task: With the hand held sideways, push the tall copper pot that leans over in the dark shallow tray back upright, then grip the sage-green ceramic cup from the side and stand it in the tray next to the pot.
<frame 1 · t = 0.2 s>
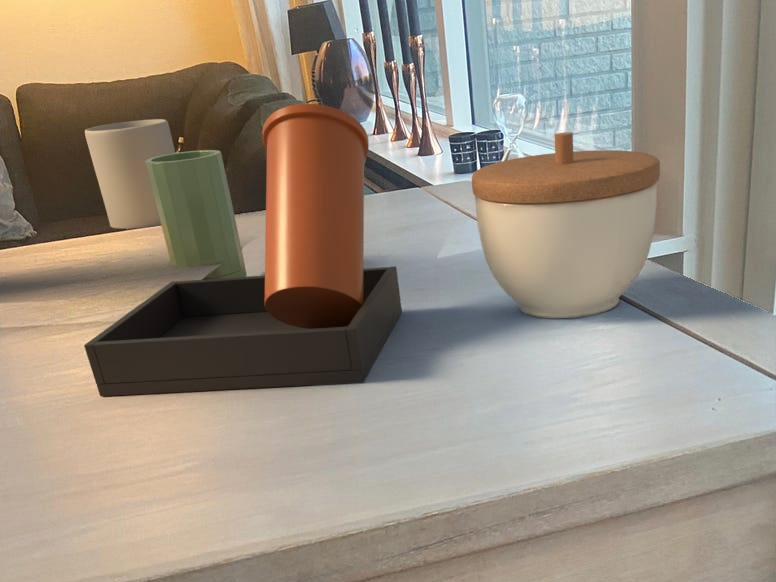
pot: (315, 222, 63), point 8 cm above the table, hinge at 40.0°
mug: (157, 236, 106), on the table
lidded bowl: (569, 307, 69), on the table
dark shallow tray: (262, 351, 66), on the table
cup: (211, 280, 85), on the table
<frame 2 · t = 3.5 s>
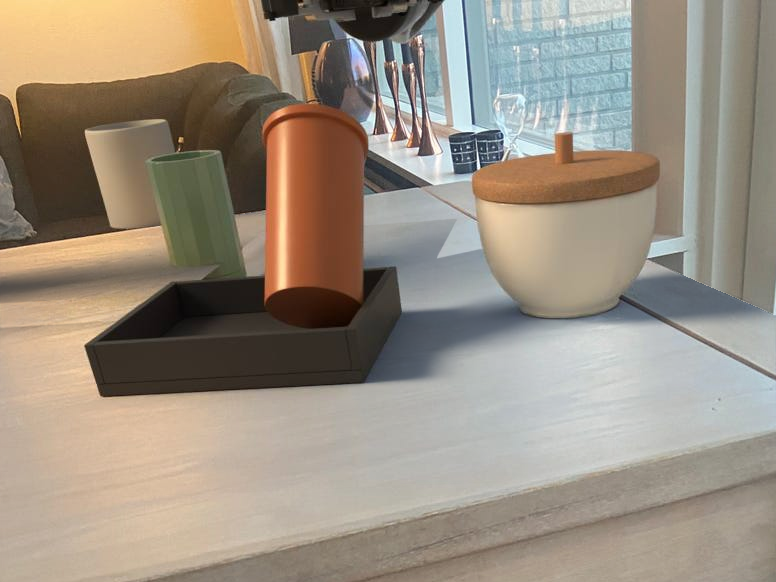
nothing on the table moved.
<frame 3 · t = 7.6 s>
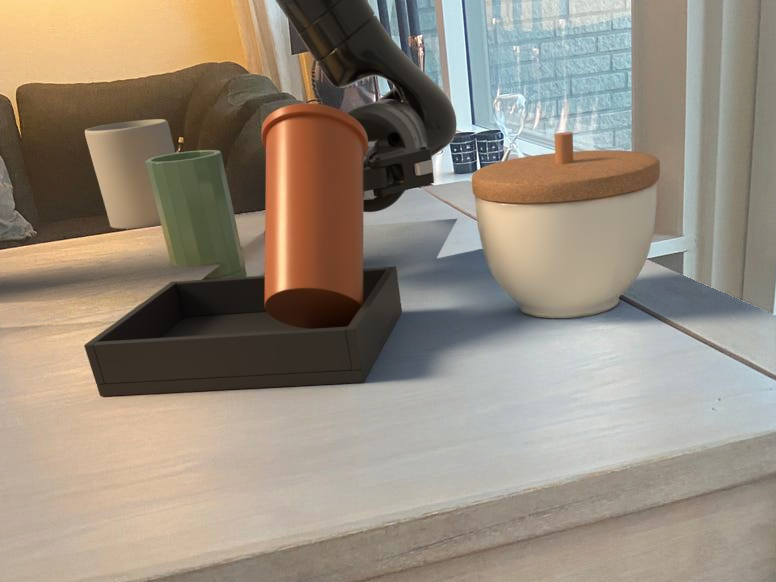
hand: (331, 192, 68), 8 cm above the table, tool horizontal, fingers closed
pot: (314, 222, 63), point 8 cm above the table, hinge at 39.2°, touching gripper
everything else where it was.
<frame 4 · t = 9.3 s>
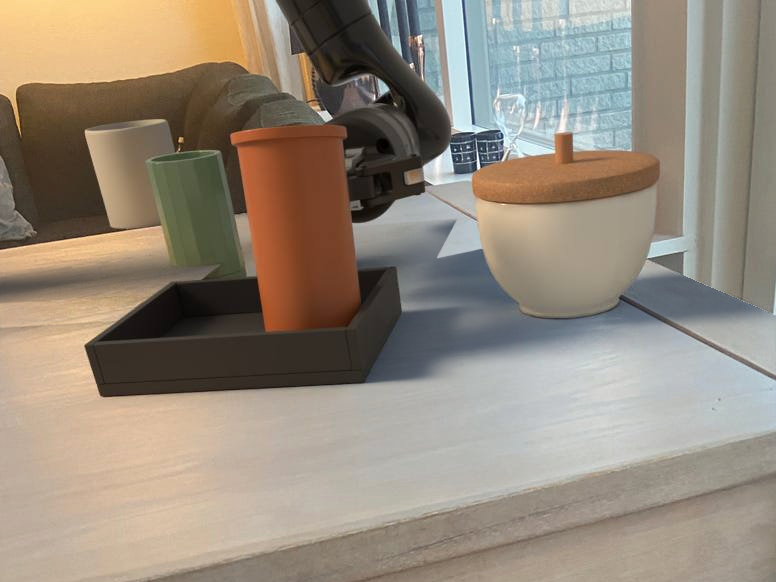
hand: (313, 203, 63), 9 cm above the table, tool horizontal, fingers closed
pot: (302, 237, 61), point 7 cm above the table, hinge at 9.7°, touching gripper
everything else where it was.
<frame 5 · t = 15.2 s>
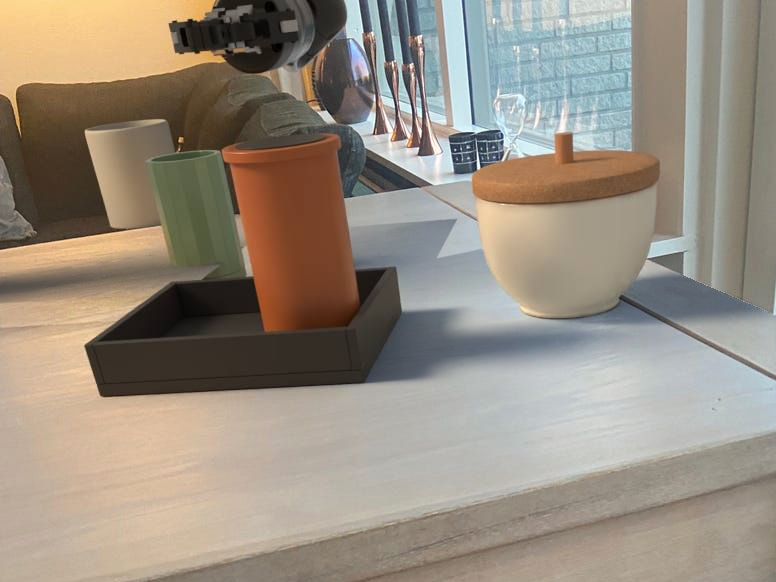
hand: (202, 36, 83), 18 cm above the table, tool horizontal, fingers closed
pot: (300, 248, 60), point 7 cm above the table, hinge at -0.1°
everything else where it was.
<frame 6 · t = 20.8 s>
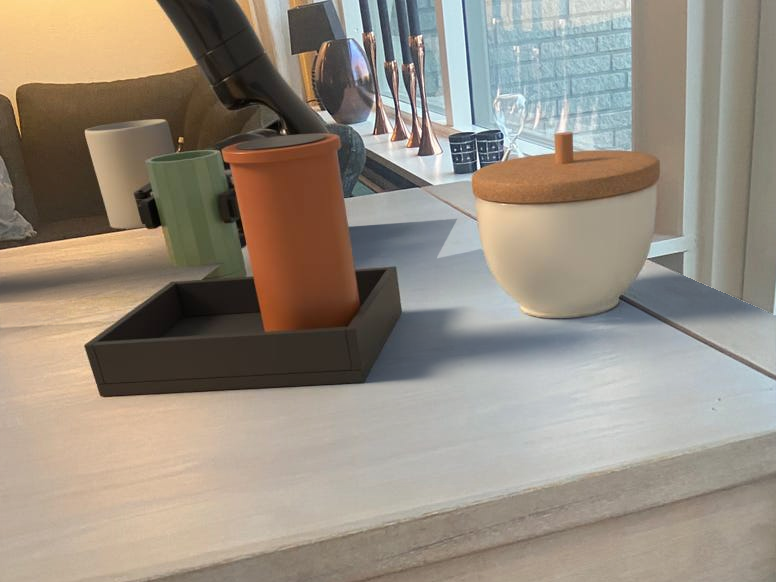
hand: (186, 213, 80), 6 cm above the table, tool horizontal, fingers closed on cup, 6 cm apart
cup: (212, 279, 85), on the table, touching gripper
everything else where it was.
when the fingers open (7 cm above the table, at t = 29.6 s): cup stays where it is, resting on dark shallow tray.
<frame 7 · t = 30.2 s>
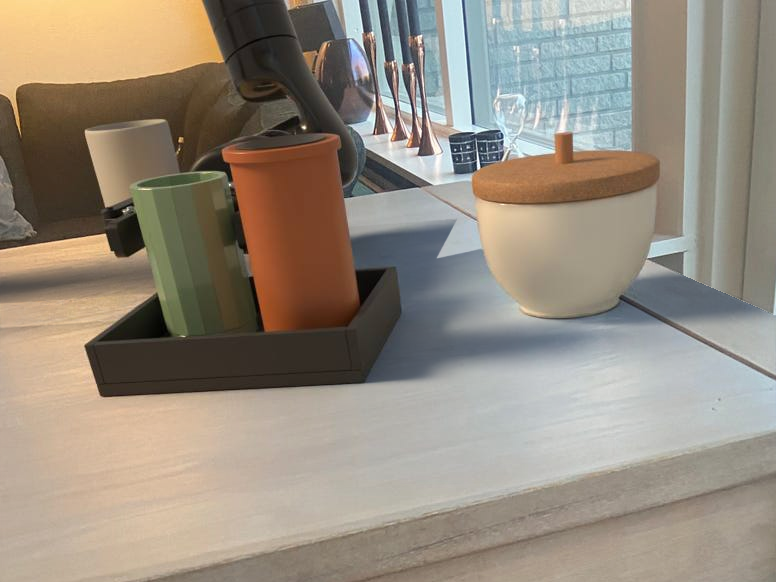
hand: (178, 237, 62), 8 cm above the table, tool horizontal, fingers open, 8 cm apart
cup: (215, 333, 68), point 1 cm above the table, touching dark shallow tray
everything else where it was.
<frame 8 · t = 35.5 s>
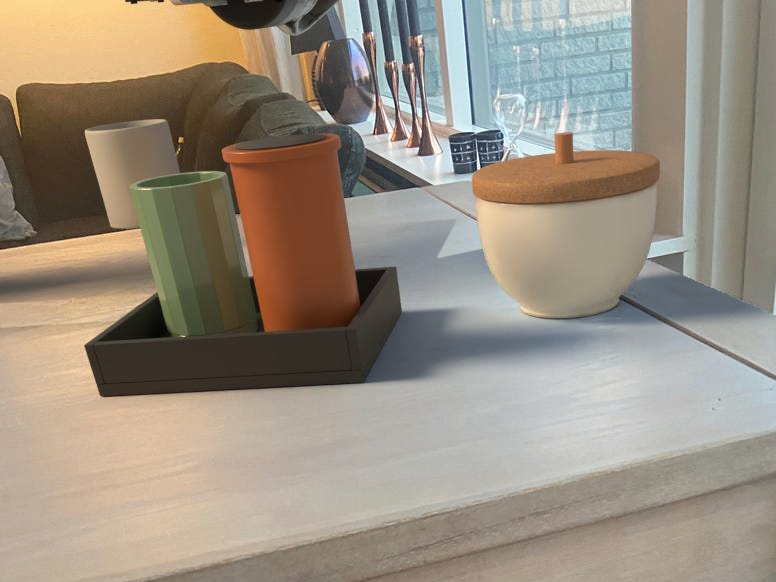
nothing on the table moved.
at the end: pot at +0° (first picture: +40°); cup inside the target area in the dark shallow tray (4.4 cm from its centre), point 0.8 cm above the dark shallow tray's base; cup tilted 0° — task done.
